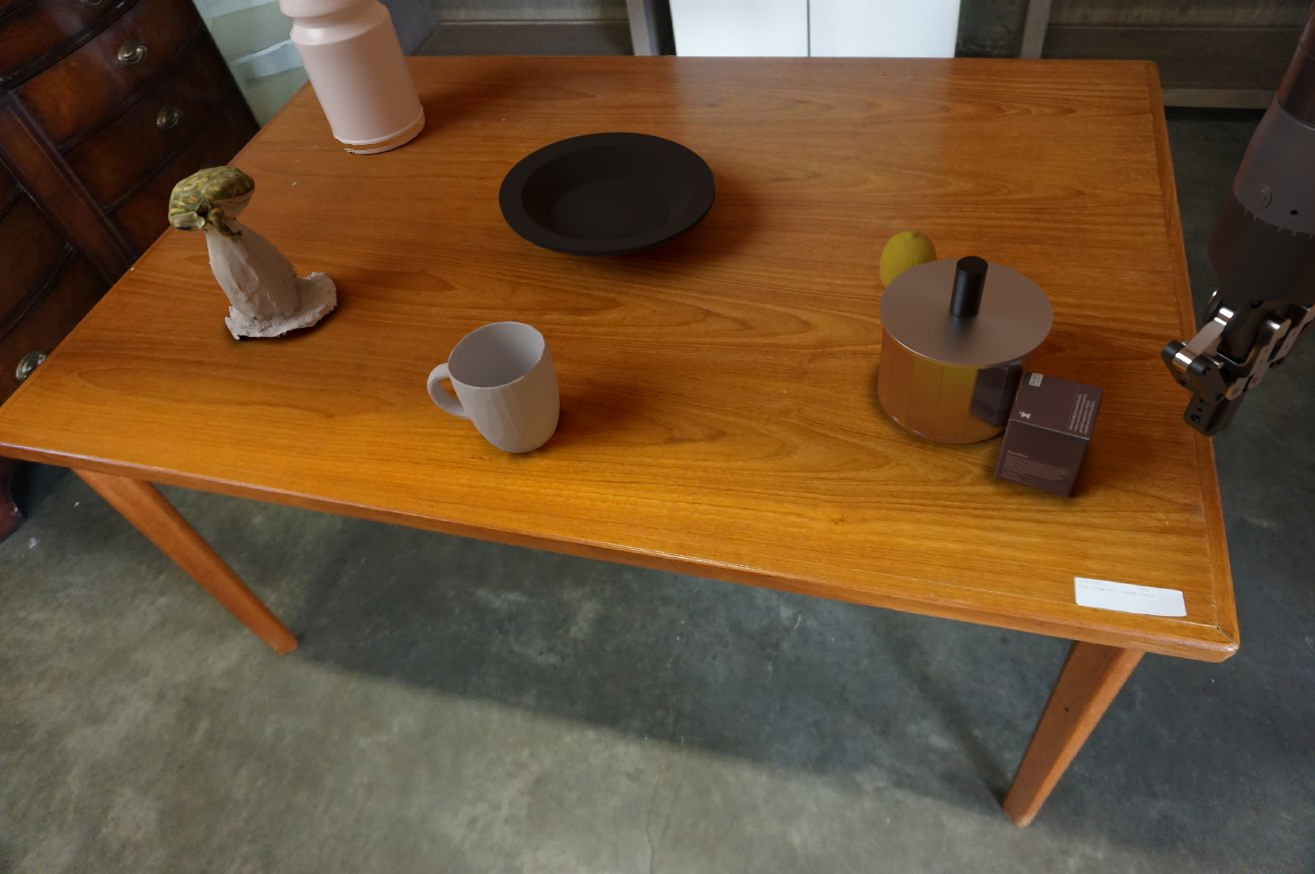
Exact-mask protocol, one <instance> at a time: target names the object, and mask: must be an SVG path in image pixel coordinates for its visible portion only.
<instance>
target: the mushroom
mask: <svg viewBox="0 0 1315 874" xmlns="http://www.w3.org/2000/svg"><path fill="white" fill-rule="evenodd" d="M242 169H243V170H246V167H245V166H243V167H242ZM255 190H256V182H255V180H254V178H253V177H251V176H250V174H247V173H245V172H243V171H242V170H241V169H240V168H238V167H230V166H227V165H221V166H217V167H210V168H205V169H201V170H199V171H197V172H195V173H194V174H191V175H189V176H188V177H186V178H183V179H181V180H180V181H179V182H177V183H176V185H175V186H174V187H173V189H172V191H171V195H170V199H169V205H168V214H167V215H168V216H167V219H168V221H169V224H170V226H171V227H172V228H174V229H176V230H179V231H183V232H190V233H194V232H199V231H204V235H205V240H206V244H207V250H208V257H209V262H207V263H208V264H209V265H210V267H211V271H212V274H213V276H214V278H215V279H216V281H217V283H218V284H219V287H221V289H222V291H224V293H225V295H226V297H227V298H228V300H229V302H230V303H231V305H229V306H228V311H229V315H230V316H229V317H228V316H225V317H224V320H225V325H226V326H227V328H228V330H229V331H230V333H231V334H232V336H233V338H234V339H236V340H240V339H241V338H240V337H241V336H245V337H250V338H251V337H252V338H253V337H255V338H260V337H267V338H272V337H273V338H274V337H277V338H280V337H281V335H283V336H285V335H287V332H288V331H289V332H292V331H293V330H294V329H295V330H296V329H302V328H308V327H309V328H311V327H314V326H315V325H316V324H317V322H318V321H321V320H322V318H323V317H324V316H325V315H328V314H330V311H334V310H335V307H337V306H338V302H337V301H338V300H337V292H336V291H337V288H336V285H335V283H334V281H333V280H332V279H331V278H330V277H329V276H328V275H327V274H326V272H324V271H322V272H320V271H318V272H317V271H312V273H311V274H309V275H307V276H306V277H302V278H300V277H298V274H299V273H298V270H297V269H295V266H294V265H293V262H291V261H290V259H289V258H288V257H287V256H285V254H284V253H283V252H281V250H279V248H278V247H277V246H276V244H274V243H273V242H271V241H270V240H269V239H267V238H266V237H265V236H263V235H261V234H260V233H259V232H257V231H255V230H253V229H252V228H249V227H248V226H246V225H245V224H242V223H240V221H238V220H237V217H239V216H240V215H241V214H242V213H243V212H244V210H245V209H246V208H247V207H248V205H249V204H250V202H251V199H252V197H253V194H254V193H255Z"/></svg>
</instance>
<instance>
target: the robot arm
mask: <svg viewBox="0 0 1315 874" xmlns="http://www.w3.org/2000/svg"><path fill="white" fill-rule="evenodd" d="M1206 251H1207V258H1208V261H1209V263H1210V266H1211V267H1212V269H1213V270H1214V272H1215V275H1216V277H1217V279H1218V282H1219V287H1218V288H1217V289H1216V290H1215V291H1214V292H1213V293H1212V295H1211V296H1210V298H1209V301H1208V304H1207V305H1206V307H1205V308H1204V310H1203V313H1202V316H1201V322H1202V325H1203V328H1201V330H1200V331H1198V332H1197V333H1196V335H1194V336H1193V338H1191V340H1190V341H1188V340H1187V339H1186V340H1185V339H1184V340H1183V341H1182V342H1181V341H1179V340H1178V339H1173V340H1171V341H1169V342H1168V343H1167V344H1166V345H1165V346H1164V347H1163V349H1162V350H1161V352H1160V358H1161V359H1162V361H1163V363H1164V364H1165V366H1166V368H1167V369H1168V371H1169V373H1170V375H1171V376H1172V378H1173V380H1174V381H1175V383H1176V384H1178V385H1180V386H1181V387H1182V388H1184V389H1185V390H1187V391H1188V392H1189V393H1192V395H1191V398H1190V400H1189V401H1188V404H1187V406H1186V408H1185V410H1184V413H1183V415H1182V419H1183V421H1184V423H1186V424H1187V425H1188V426H1189V427H1191V428H1193V429H1194V430H1195V431H1197V432H1199V434H1201V435H1203V436H1204V437H1207V438H1211V437H1213V436H1215V435H1217V434H1219V433H1220V432H1222V431H1223V430H1225V429H1227V428H1229V426H1230V425H1231V423H1232V421H1233V419H1234V417H1235V415H1236V414H1237V411H1238V410H1239V408H1240V406H1241V404H1242V402H1243V401H1244V399H1245V396H1246V395H1247V393H1248V391H1249V390H1252V389H1253V388H1254V387H1256V386H1258V385H1259V384H1261V382H1262V379H1263V378H1264V377H1265V375H1266V372H1267V371H1268V369H1271V370H1273V371H1274V370H1276V369H1278V368H1279V367H1282V366H1283V364H1284V363H1285V362H1286V360H1287V359H1288V358H1289V357H1290V355H1291V354H1292V353H1293V352H1294V351H1295V350H1296V349H1297V347H1298V346H1299V345H1300V344H1301V343H1302V342H1303V341H1304V340H1305V339H1306V337H1307V336H1308V335H1309V334H1310V333H1311V332H1312V331H1313V330H1314V329H1315V0H1312V3H1311V6H1310V8H1309V10H1308V14H1307V16H1306V19H1305V22H1304V23H1303V26H1302V29H1301V32H1300V34H1299V36H1298V39H1297V42H1296V44H1295V46H1294V49H1293V51H1292V53H1291V56H1290V58H1289V61H1288V63H1287V65H1286V68H1285V71H1284V72H1283V75H1282V77H1281V79H1280V83H1279V85H1278V87H1277V90H1276V92H1275V94H1274V96H1273V98H1272V101H1271V102H1270V104H1269V106H1268V108H1267V109H1266V111H1265V113H1264V115H1263V116H1262V118H1261V120H1260V121H1259V123H1258V124H1257V126H1256V128H1255V130H1254V131H1253V134H1252V136H1251V138H1250V140H1249V143H1248V145H1247V148H1246V151H1245V152H1244V155H1243V158H1242V160H1241V163H1240V164H1239V167H1238V170H1237V172H1236V175H1235V177H1234V180H1233V182H1232V184H1231V187H1230V189H1229V192H1228V194H1227V197H1226V199H1225V202H1224V204H1223V207H1222V209H1221V211H1220V214H1219V216H1218V219H1217V221H1216V224H1215V226H1214V229H1213V231H1212V234H1211V236H1210V238H1209V241H1208V245H1207V249H1206Z"/></svg>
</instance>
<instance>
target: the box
mask: <svg viewBox="0 0 1315 874" xmlns="http://www.w3.org/2000/svg"><path fill="white" fill-rule="evenodd" d="M1103 395H1104V387H1103V388H1102V387H1099V386H1095V385H1094V386H1093V385H1090V384H1085V383H1081V382H1076V381H1072V380H1068V379H1062V378H1059V377H1055V376H1050V375H1046V374H1042V373H1039V372H1038V373H1037V372H1025V374H1024V377H1023V379H1022V382H1021V385H1020V388H1019V391H1018V393H1017V396H1016V399H1015V402H1014V405H1013V408H1012V411H1011V413H1010V416H1009V420H1008V424H1007V428H1006V430H1005V431H1004V435H1003V439H1002V442H1001V446H1000V448H999V449H1000V450H999V453H998V458H997V462H996V466H995V469H994V473H993V476H994V478H996V479H1001V480H1004V481H1007V482H1011V483H1014V484H1018V485H1022V486H1025V487H1028V488H1034V489H1036V490H1040V491H1043V492H1047V493H1051V494H1053V495H1057V496H1061V497H1065V498H1068V497H1069V496H1070V495H1071V492H1072V489H1073V486H1074V484H1075V481H1076V478H1077V476H1078V473H1079V470H1080V467H1081V465H1082V462H1083V459H1084V457H1085V454H1086V452H1087V448H1088V446H1089V444H1090V442H1091V440H1092V437H1093V433H1094V430H1095V428H1096V423H1097V420H1098V415H1099V411H1100V408H1101V404H1102V400H1103Z"/></svg>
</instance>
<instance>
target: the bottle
mask: <svg viewBox="0 0 1315 874" xmlns="http://www.w3.org/2000/svg"><path fill="white" fill-rule="evenodd" d="M278 7H279V9H280V12H281V14H282V15H284V16H286V17H288V18H290V19H291V20H293V24H292V27H291V29H290V32H289V37H290V40H291V42H292V45H293V47H294V49H295V50H296V53H297V55H298V57H299V59H300V61H301V64H302V66H303V68H304V70H305V72H306V75H307V77H308V79H309V81H310V83H311V86H312V88H313V90H314V92H315V95H316V97H317V99H318V101H319V103H320V106H321V108H322V111H323V112H324V115H325V117H326V119H327V122H328V124H329V126H330V128H331V132H332V135H333V137H334V139H335V138H336V139H338V140H339V141H341V142H342V143H344V144H345V143H346V144H352V145H355V146H356V145H365V144H366V145H367V144H376V143H380V142H383V141H388V140H390V139H393V138H396V137H397V136H400V135H402V134H403V133H406V132H407V131H409V130H410V129H411V128H413V127H414V126H415V125H416V124H417V123H418V122H419V120H420V119H421V118H422V114H423V109H424V107H423V105H422V103H421V100H420V97H419V95H418V92H417V89H416V86H415V84H414V81H413V77H412V74H411V72H410V68H409V66H408V63H407V61H406V57H405V54H404V52H403V49H402V46H401V44H400V43H401V42H400V40H399V37H398V35H397V31H396V29H395V25H394V22H393V20H392V16H391V13H390V11H389V9H388V7H387V6H386V5H385V4H383V3H381V2H379V1H378V0H278ZM422 125H423V124H422ZM425 126H426V123H425V124H424V126H423V127H424V128H425ZM423 127H422V126H421V127H419V128H420V129H418V130H417V131H416V132H414V134H411V135H410V136H408V137H406V138H405V139H403V140H401V141H398V142H396V143H393V144H391V145H388V146H384V147H380V148H376V149H367V150H368V151H367V150H354V149H348V148H347V149H345V148H344V149H343V150H344V151H346V150H347V151H346V152H348V153H350V152H352V153H351V154H357V155H368V154H369V155H370V154H371V155H372V154H379V153H383V152H386V151H391V150H393V149H395V148H398V147H400V146H403V145H405V144H407V143H408V142H410V141H411V140H413V139H414V138H416V137H418V135H419V134H420V133H421V132H422V131H423V129H424V128H423ZM421 128H423V129H421ZM419 131H420V132H419ZM415 133H416V134H415ZM418 133H419V134H418ZM336 139H335V140H336ZM348 150H349V151H348ZM350 150H352V151H350ZM353 150H354V151H353ZM369 150H370V151H369ZM353 152H354V153H353Z"/></svg>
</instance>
